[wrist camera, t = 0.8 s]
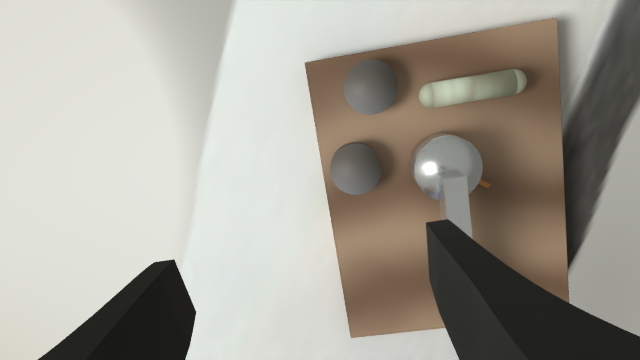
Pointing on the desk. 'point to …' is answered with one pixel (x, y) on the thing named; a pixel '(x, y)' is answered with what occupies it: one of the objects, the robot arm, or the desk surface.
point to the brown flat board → (401, 188)
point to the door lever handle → (448, 174)
